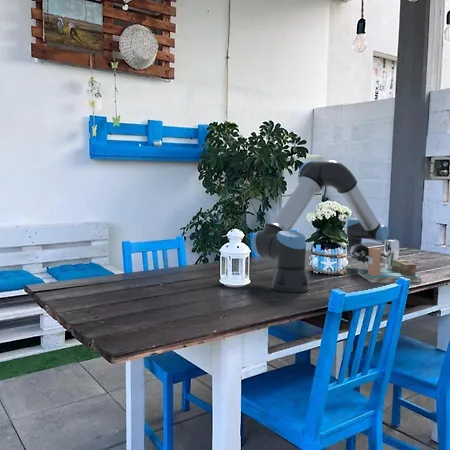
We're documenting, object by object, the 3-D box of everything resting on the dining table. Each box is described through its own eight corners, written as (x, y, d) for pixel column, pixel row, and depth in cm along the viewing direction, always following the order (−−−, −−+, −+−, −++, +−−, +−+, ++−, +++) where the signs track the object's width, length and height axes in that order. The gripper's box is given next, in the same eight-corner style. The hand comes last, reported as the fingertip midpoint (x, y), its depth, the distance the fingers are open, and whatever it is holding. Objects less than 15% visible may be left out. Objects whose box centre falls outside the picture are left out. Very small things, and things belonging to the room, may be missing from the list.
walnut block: (404, 275, 209) (405, 264, 208) (399, 273, 214) (400, 262, 213) (415, 275, 209) (416, 264, 209) (410, 273, 214) (410, 262, 214)
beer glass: (399, 272, 228) (400, 241, 226) (384, 271, 229) (385, 241, 228) (397, 269, 235) (398, 239, 233) (382, 268, 236) (383, 239, 235)
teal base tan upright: (371, 279, 207) (372, 249, 206) (365, 275, 214) (366, 247, 212) (419, 278, 208) (421, 249, 207) (412, 275, 215) (413, 246, 214)
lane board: (372, 282, 206) (372, 277, 205) (357, 273, 225) (357, 269, 224) (421, 282, 207) (421, 277, 207) (402, 273, 226) (402, 268, 226)
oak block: (399, 272, 217) (399, 261, 217) (392, 270, 222) (392, 259, 222) (408, 271, 219) (408, 261, 218) (400, 269, 224) (401, 259, 223)
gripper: (379, 260, 229) (399, 269, 206) (341, 260, 227) (357, 270, 204) (379, 244, 228) (400, 252, 205) (341, 245, 227) (358, 253, 204)
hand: (378, 261), depth 205 cm, fingers open, 6 cm apart
